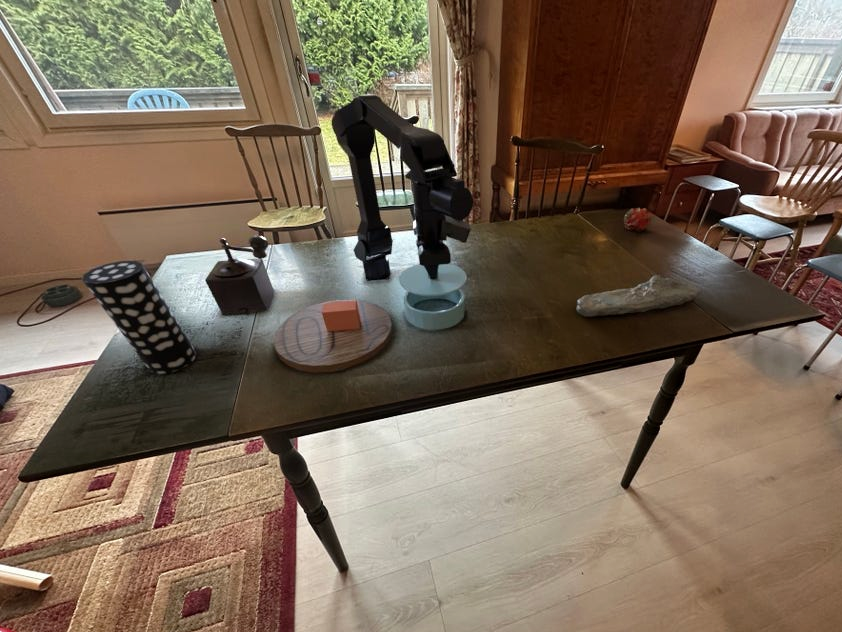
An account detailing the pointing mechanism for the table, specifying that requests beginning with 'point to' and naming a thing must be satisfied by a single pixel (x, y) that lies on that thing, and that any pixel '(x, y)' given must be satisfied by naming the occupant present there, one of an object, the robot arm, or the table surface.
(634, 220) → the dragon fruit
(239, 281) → the manual coffee grinder
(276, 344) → the trivet
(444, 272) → the lid
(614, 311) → the long grey stone
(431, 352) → the table surface
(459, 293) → the pot
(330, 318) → the orange rectangular block
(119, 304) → the spotted tube
